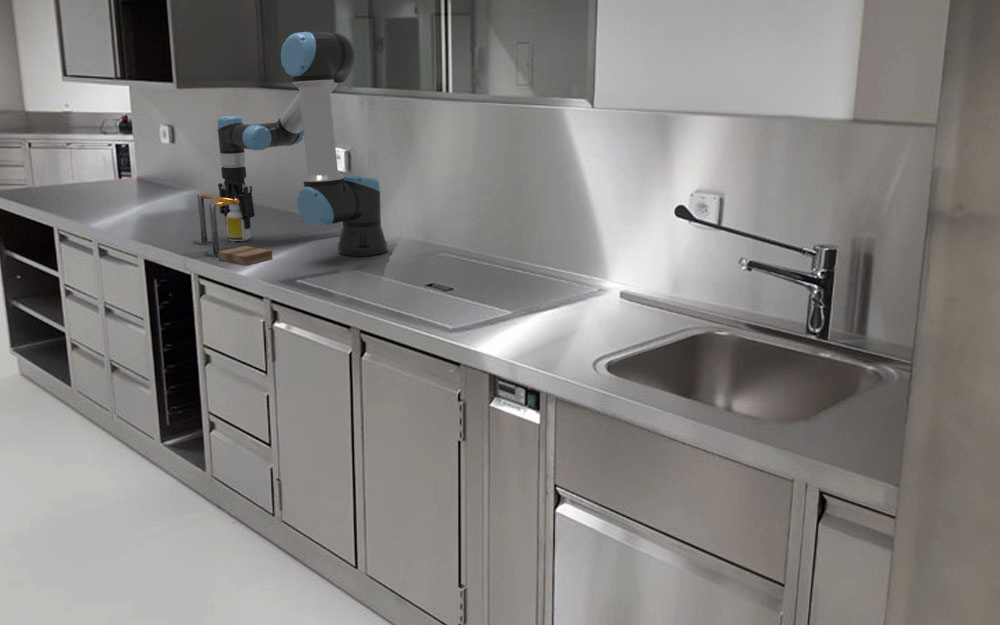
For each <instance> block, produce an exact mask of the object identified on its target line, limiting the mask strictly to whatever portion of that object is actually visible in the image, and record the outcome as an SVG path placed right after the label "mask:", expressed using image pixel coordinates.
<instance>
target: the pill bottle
mask: <svg viewBox="0 0 1000 625" xmlns="http://www.w3.org/2000/svg"><path fill="white" fill-rule="evenodd" d="M229 209H230V212H229V213H228V214H227V222H228V233H229V237H228V240H229V241H231V242H235V241H241V242H247V241H248V240H249V239H250V238H248V239H242V227H241V218H243V217H242V214H241V211H240V207H239V204H231V205H229ZM245 215H246V214H245Z"/></svg>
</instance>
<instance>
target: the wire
mask: <svg viewBox="0 0 1000 625" xmlns="http://www.w3.org/2000/svg"><path fill="white" fill-rule="evenodd" d="M196 196H197V205H198V217H199V218H198V219H199V229H200V238H198V239H194V240H192V244H195V245H201V246H204V245H209V244H212V250H210V251H206V252H204V253H203V254H204V256H206V257H211V258H219V256H218V252H219V251H223V250H221V249H220V242H219V229H218V222H217V221H218V220H217V211H216V210H217V209H216V208H220V206H225V205H231V204H239V200H238V199H236V198H235V199H229V198H223V197H220V196H215V195H207V194H202V193H201V194H200V193H198V194H197V195H196ZM205 200H210V201H211V200H212V201H216V202H214V203H209V204H208V208H209V220H210V221H209V222H210V230H211V232H210V233H211V238H208V235H207V234H208V232H207V221H206V210H205ZM220 201H223V202H220Z"/></svg>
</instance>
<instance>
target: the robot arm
mask: <svg viewBox="0 0 1000 625" xmlns="http://www.w3.org/2000/svg"><path fill="white" fill-rule="evenodd" d="M356 58H357V57H356V51H355V47H354V44H353V43H352V42H351V41H350V40H349V38H348V37H346V36H345V35H344V34H341V33H339V32H334V31H332V32H330V31H329V32H328V31H327V32H326V31H325V32H322V31H320V32H319V31H303V32H295V33H292V34H290V35H289V36H288V37H287V38H286V39H285V42H283V45H282V47H281V52H280V61H281V66H282V68H283V69H284V72H286V74H287V75H289V76H291V79H292V80H291V81H292V84H293V86H295V87H296V88H297V89H298V91H299V92H298V93H297V94H296V96H295V97H294V98H293V100H292V101H291V102H290V104H289V105H288V107H287V108H286V109H285V110H284V112H283V113H282V115H281V116H280V117H279V119H278V120H277V121H275V122H267V123H255V124H248V123H247V124H245V123H244V122H243V118H242V117H241V116H238V115H237V116H236V115H226V116H225V115H224V116H220V117H218V118H217V136H218V143H219V144H218V146H219V158H220V159H219V160H220V161H219V162H220V165H221V169H220V170H221V177H222V179H223V180H224V182H220V183H217V185H218V186H217V187H218V190H219V197H223V198H229V199H238V200H239V207H240V211H241V214H242V217H243V218H241V227H242V239H248V238H249V239H251V238H252V237H251V218H253V217H255V209H254V207H255V206H254V200H253V195H252V194H253V187H252V185H246V182H245V179H246V178H247V168H246V165H245V164H246V159H245V158H246V156H245V149H246V150H252V151H264V150H267V149H268V148H277V147H285V146H286V147H290V146H293V145H298V144H300V143H301V142H302V141H303V139H304V149H305V157H306V168H307V175H305V177H304V179H303V181H302V182H303V187H302V188H301V189H300V190H299V191H298V194H297V196H296V205H297V208H298V212H299V213H300V215H301V217H302V218H303V219H304V220H305V222H307V223H308V224H309V225H311V226H313V227H325V226H327V227H329V226H331V225H334V224H338V223H342V229H341V233H340V237H339V242H338V243H337V253H339V254H340V255H343V256H349V257H350V256H351V257H371V255H372V256H378V255H377V254H379V255H382V254H384V252H385V253H386V251H387V252H388V242H387V240H386V238H385V235H384V231H383V228H382V221H381V220H382V219H381V218H382V217H381V214H382V213H381V190H380V182H379V180H378V179H377V178H375V177H371V176H359V175H342V174H341V173H340V171H339V169H338V160H337V159H338V158H337V149H336V139H335V130H334V120H333V111H332V99H331V94H332V92H333V91H334V90H335V88H336V87H337V86H338V85H339V84H343V83H345V82H346V80H347V79H348V78H349V77H350V75H351V73H352V72H353V70H354V68H355V64H356ZM219 202H223V201H219ZM219 212H220V214H221V215H222V214H223V215H224V217H225V225H226V232H227V237H228V238H229V233H228V222H227V214H228V213H229V212H230V209H229V205H225V206H220V207H219ZM245 214H246V215H245ZM249 239H248V240H249ZM381 253H382V254H381Z"/></svg>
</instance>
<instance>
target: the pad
mask: <svg viewBox="0 0 1000 625" xmlns="http://www.w3.org/2000/svg"><path fill="white" fill-rule="evenodd" d="M218 256H219V257H218V260H219V261H221V262H222V261H223V262H228V263H233V264H237V265H242V266H249V265H253V264H258V263H262V262H266V261H269V260H273V250H270V249H266V248H259V247H254V246H248V245H242V246H237V247H233V248H228V249H224V250H222V251H219V252H218Z"/></svg>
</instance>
